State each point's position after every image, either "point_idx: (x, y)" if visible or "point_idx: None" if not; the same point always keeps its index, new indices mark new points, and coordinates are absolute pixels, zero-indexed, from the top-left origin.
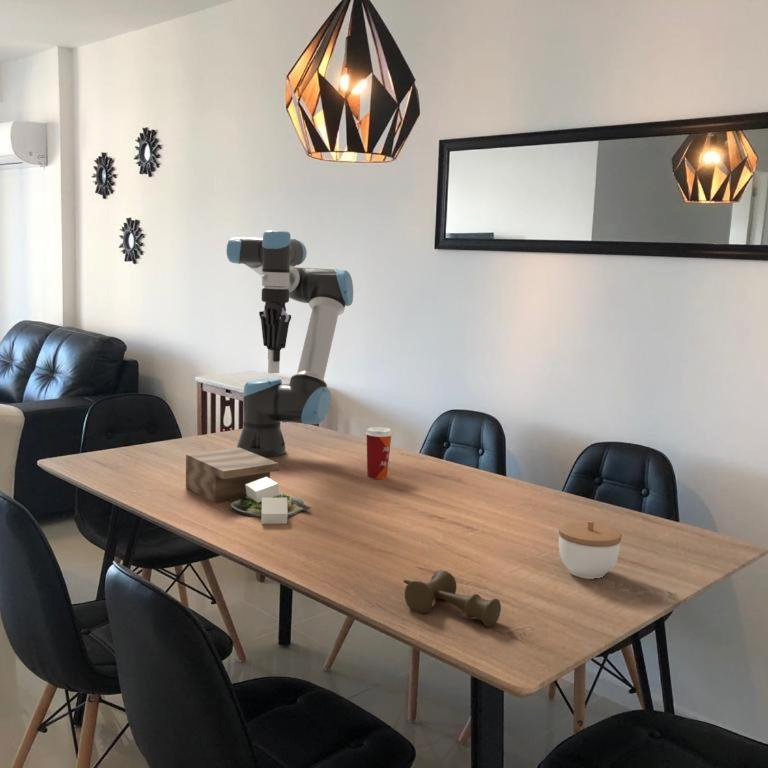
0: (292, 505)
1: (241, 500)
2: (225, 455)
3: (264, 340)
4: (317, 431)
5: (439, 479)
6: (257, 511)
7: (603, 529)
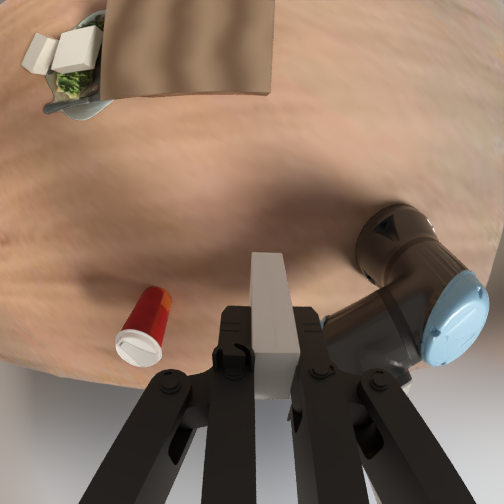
0: (63, 92)
1: None
2: (217, 28)
3: (389, 405)
4: None
5: None
6: None
7: None
